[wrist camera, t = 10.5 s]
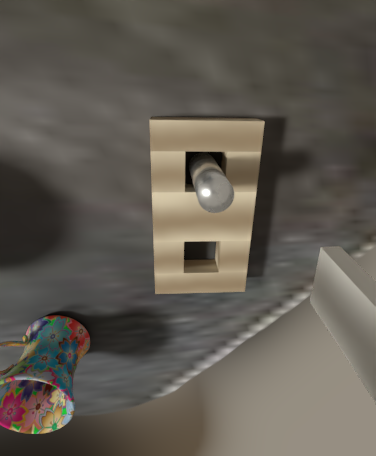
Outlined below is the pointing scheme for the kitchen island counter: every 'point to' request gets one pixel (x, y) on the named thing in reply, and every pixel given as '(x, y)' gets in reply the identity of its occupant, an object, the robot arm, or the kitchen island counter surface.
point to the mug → (43, 376)
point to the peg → (210, 183)
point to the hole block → (190, 208)
